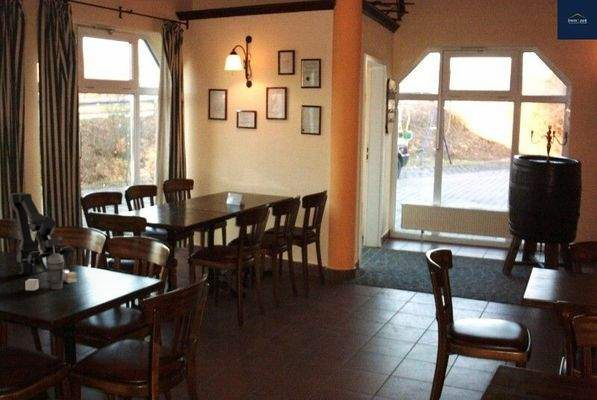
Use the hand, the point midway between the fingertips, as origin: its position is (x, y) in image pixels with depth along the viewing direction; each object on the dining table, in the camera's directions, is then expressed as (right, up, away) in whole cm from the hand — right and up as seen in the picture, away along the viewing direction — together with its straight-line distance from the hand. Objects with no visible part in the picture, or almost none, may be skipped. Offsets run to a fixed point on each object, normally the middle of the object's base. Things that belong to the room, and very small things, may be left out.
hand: (56, 270), depth 284 cm
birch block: (+2, -7, +12) cm, 14 cm away
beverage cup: (-1, -8, +2) cm, 8 cm away
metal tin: (-3, -6, +16) cm, 18 cm away
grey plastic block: (-11, -8, 0) cm, 14 cm away
